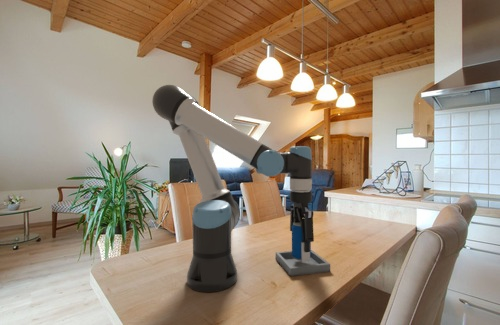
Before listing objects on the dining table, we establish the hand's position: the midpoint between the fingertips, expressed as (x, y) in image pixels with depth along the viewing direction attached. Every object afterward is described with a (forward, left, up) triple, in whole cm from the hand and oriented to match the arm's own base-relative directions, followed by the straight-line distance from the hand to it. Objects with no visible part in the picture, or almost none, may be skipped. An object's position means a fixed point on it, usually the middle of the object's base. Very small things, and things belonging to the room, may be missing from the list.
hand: (301, 256), depth 84 cm
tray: (0, 0, -3) cm, 3 cm away
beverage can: (0, 0, -1) cm, 1 cm away
